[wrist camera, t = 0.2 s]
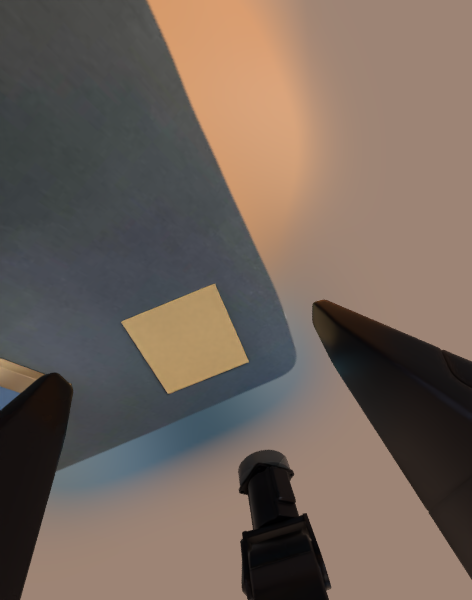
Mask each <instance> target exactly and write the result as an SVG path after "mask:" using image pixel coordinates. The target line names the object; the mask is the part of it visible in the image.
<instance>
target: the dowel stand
mask: <svg viewBox="0 0 472 600" xmlns="http://www.w3.org/2000/svg"><path fill="white" fill-rule="evenodd" d="M43 375H45V374H42V373H40V372H37V371H34V370H31V369H29V368H26V367H23V366H20V365H18V364H15V363H12V362H9V361H7V360H4V359H1V358H0V386H1V387H4V388H7V389H10V390H13V391H16V392H19V393H21V392H23V391H24V390H25V389H26V388H27V387H29V386H30V385H31V384H32V383H33V382H34V381H36V380H37V379H38V378H39V377H41V376H43ZM69 384H70V383H69ZM70 385H72V384H70Z"/></svg>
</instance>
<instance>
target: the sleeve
mask: <svg viewBox="0 0 472 600" xmlns="http://www.w3.org/2000/svg"><path fill="white" fill-rule="evenodd" d="M19 394H20V393H19V392H16V391H13V390H10V389H7V388H4V387H1V386H0V410H1V409H2V408H4V407H5V406H6V405H7V404H8V403H10V402H11V401H12V400H13V399H14V398H15V397H17V396H18V395H19Z"/></svg>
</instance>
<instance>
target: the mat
mask: <svg viewBox="0 0 472 600" xmlns="http://www.w3.org/2000/svg"><path fill="white" fill-rule="evenodd" d="M121 323H122V324H123V326H124V327H125V329H126V330H127V332H128V333H129V335H130V336H131V338H132V339H133V341H134V342H135V344H136V346H137V347H138V349H139V350H140V352H141V353H142V355H143V356H144V358H145V359H146V361H147V362H148V364H149V365H150V367H151V368H152V370H153V372H154V373H155V375H156V376H157V378H158V379H159V381H160V382H161V384H162V385H163V387H164V388H165V390H166V391H167V393H168V394H170V393H172V392H175V391H177V390H180V389H182V388H185V387H187V386H190V385H192V384H195V383H197V382H200V381H202V380H205V379H207V378H210V377H212V376H215V375H217V374H220V373H222V372H225V371H227V370H230V369H232V368H235V367H237V366H240V365H242V364H245V363H247V362H249V361H248V358H247V356H246V354H245V351H244V349H243V347H242V345H241V342H240V340H239V338H238V336H237V333H236V331H235V329H234V326H233V324H232V322H231V320H230V317H229V315H228V313H227V311H226V308H225V306H224V304H223V301H222V299H221V297H220V295H219V292H218V290H217V288H216V286H215V284H212V285H210V286H207V287H205V288H202V289H200V290H197V291H195V292H193V293H190V294H188V295H185V296H183V297H180V298H178V299H175V300H173V301H170V302H168V303H166V304H163V305H161V306H158V307H156V308H153V309H151V310H148V311H146V312H143V313H141V314H139V315H136V316H134V317H131V318H129V319H126V320H124V321H122V322H121Z"/></svg>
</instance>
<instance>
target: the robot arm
mask: <svg viewBox="0 0 472 600" xmlns="http://www.w3.org/2000/svg"><path fill="white" fill-rule="evenodd" d="M312 307H313V308H312V320H313V325H314V327H315V329H316V331H317V333H318V335H319V337H320V339H321V341H322V343H323V345H324V347H325V349H326V351H327V353H328V356H329V357H330V359H331V361H332V363H333V365H334V366H335V368H336V369H337V371H338V373H339V374H340V376H341V377H342V379H343V380H344V382H345V384H346V385H347V387H348V388H349V390H350V391H351V393H352V394H353V396H354V398H355V399H356V401H357V402H358V404H359V405H360V407H361V408H362V410H363V412H364V413H365V415H366V416H367V418H368V419H369V421H370V422H371V424H372V425H373V427H374V429H375V430H376V431H377V433H378V435H379V436H380V438H381V439H382V441H383V443H384V444H385V446H386V447H387V449H388V450H389V452H390V453H391V455H392V456H393V458H394V460H395V461H396V463H397V464H398V466H399V467H400V469H401V470H402V472H403V473H404V475H405V477H406V478H407V480H408V481H409V483H410V484H411V486H412V487H413V489H414V490H415V492H416V494H417V495H418V497H419V498H420V500H421V501H422V503H423V504H424V506H425V508H426V509H427V510H428V511H429V514H430V516H431V517H432V519H433V520H434V522H435V523H436V525H437V526H438V528H439V530H440V531H441V533H442V534H443V536H444V537H445V539H446V540H447V542H448V544H449V545H450V547H451V548H452V550H453V551H454V553H455V554H456V556H457V557H458V559H459V561H460V562H461V563H462V565H463V566H464V568H465V570H466V571H467V573H468V575H469V576H470V578H471V579H472V361H469V360H467V359H464V358H462V357H460V356H457V355H454V354H452V353H450V352H447V351H445V350H441V349H440V348H438V347H436V346H433V345H431V344H429V343H426V342H424V341H422V340H419V339H417V338H415V337H412V336H410V335H408V334H405V333H403V332H400V331H398V330H396V329H393V328H391V327H389V326H386V325H384V324H382V323H379V322H377V321H374V320H372V319H370V318H368V317H365V316H363V315H360V314H358V313H356V312H353V311H351V310H349V309H346V308H344V307H342V306H339V305H337V304H335V303H332V302H330V301H328V300H320V301H317V302H314V303H313V306H312ZM72 396H73V388H72V386H71V385H70V384H69V383H68V382H67V381H66V380H65V379H64V378H63V377H62V376H61V375H60V374H58V373H50V374H46V375H43V376H41V377H39V378H38V379H37V380H36V381H34V382H33V383H32V384H31V385H30V386H29V387H27V388H26V389H25V390H24V391H23V392H21V393H20V394H19V395H18V396H17V397H15V398H14V399H13V400H12V401H11V402H10V403H8V404H7V405H6V406H5V407H4V408H2V409H1V410H0V600H20V598H21V595H22V591H23V588H24V584H25V580H26V577H27V573H28V570H29V566H30V562H31V559H32V555H33V552H34V548H35V544H36V541H37V537H38V534H39V530H40V526H41V522H42V519H43V515H44V512H45V508H46V505H47V501H48V498H49V494H50V490H51V487H52V483H53V480H54V476H55V472H56V469H57V465H58V462H59V458H60V454H61V451H62V447H63V443H64V439H65V435H66V430H67V424H68V418H69V413H70V407H71V401H72ZM293 476H294V473H293V471H292V470H290V469H286V468H282V467H278V466H274V465H269V464H265V463H261V462H258V463H257V464H256V465H255V466H254V468H253V469H252V470H251V472H250V473H249V475H248V476H247V478H246V479H245V480H244V482H243V483H242V485H241V486H240V488H239V493H240V494H244V495H248V497H249V505H250V512H251V518H252V525H253V530H251V531H244V532H243V533H242V536H243V539H242V540H241V541H240V543H241V552H242V591H243V592H244V594H245V595H246V596H247V599H248V600H329V598H328V595H327V592H326V590H329V589H331V585H330V581H329V578H328V574H327V571H326V567H325V564H324V561H323V558H322V555H321V552H320V549H319V547H318V544H317V541H316V538H315V536H314V533H313V530H312V527H311V524H310V522H309V519H308V516H307V513H304V514H303V515H301V516H299V514H298V511H297V508H296V504H295V502H296V500H295V497H294V493H293V490H292V487H291V484H290V479H291V478H292V477H293Z"/></svg>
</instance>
